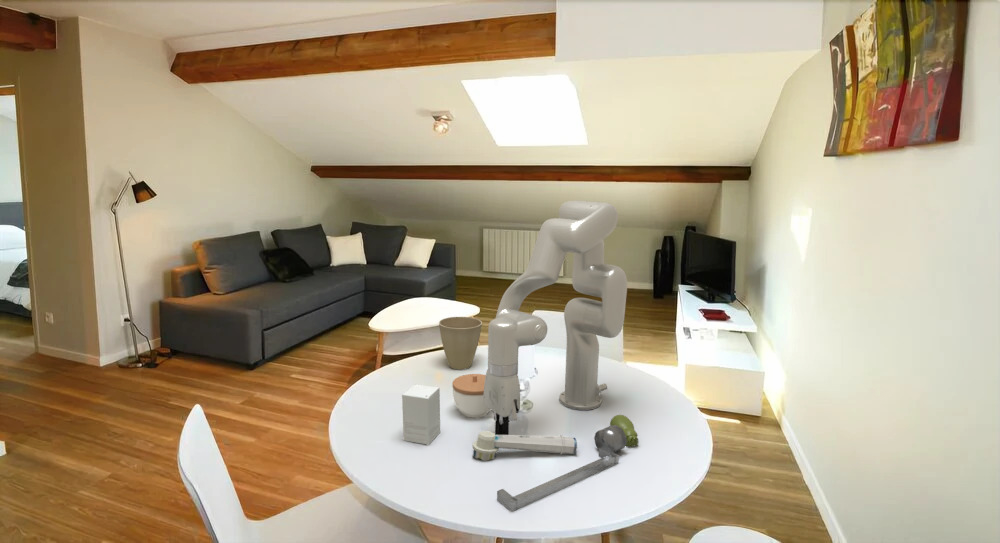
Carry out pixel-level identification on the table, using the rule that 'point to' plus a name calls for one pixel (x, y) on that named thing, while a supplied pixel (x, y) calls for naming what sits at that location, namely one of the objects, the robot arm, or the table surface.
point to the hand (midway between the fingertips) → (501, 435)
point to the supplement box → (421, 414)
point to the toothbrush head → (521, 444)
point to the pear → (626, 429)
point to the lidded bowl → (470, 395)
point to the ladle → (605, 443)
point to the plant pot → (460, 340)
